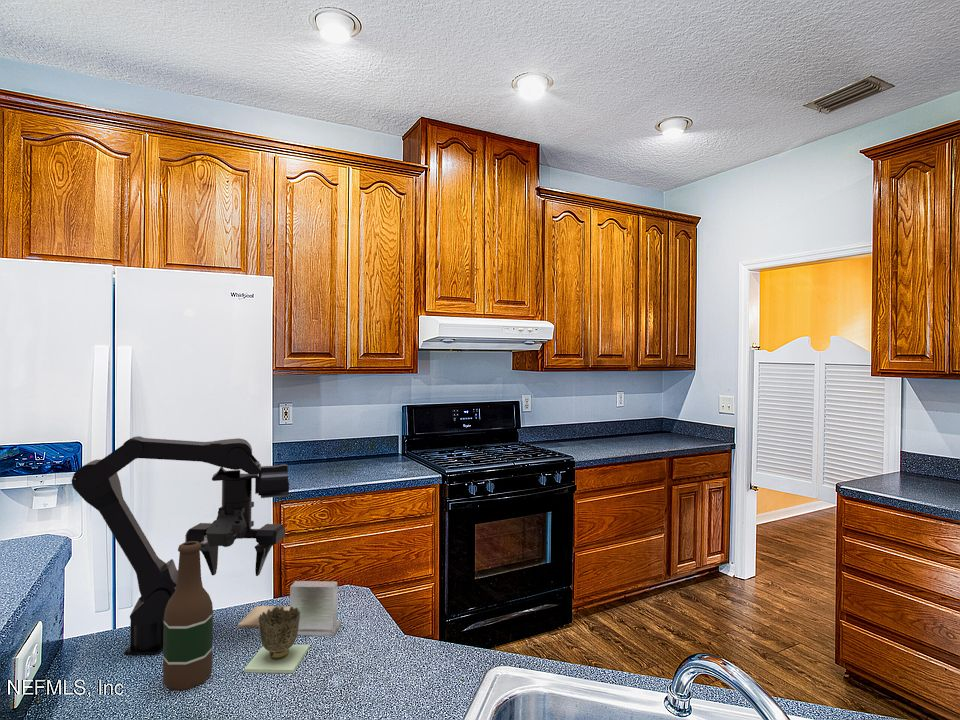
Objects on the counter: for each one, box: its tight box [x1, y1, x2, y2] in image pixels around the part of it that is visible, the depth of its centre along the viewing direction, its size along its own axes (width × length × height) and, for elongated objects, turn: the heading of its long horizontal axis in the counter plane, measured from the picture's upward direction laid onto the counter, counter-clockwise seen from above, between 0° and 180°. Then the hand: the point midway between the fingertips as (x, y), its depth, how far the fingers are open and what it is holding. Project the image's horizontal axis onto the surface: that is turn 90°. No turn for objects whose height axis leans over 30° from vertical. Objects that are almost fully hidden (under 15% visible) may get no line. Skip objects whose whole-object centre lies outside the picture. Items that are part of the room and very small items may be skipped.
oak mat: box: [237, 605, 290, 628], centre depth 121 cm, size 9×9×1 cm
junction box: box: [289, 580, 342, 637], centre depth 116 cm, size 10×5×10 cm, turn 89°
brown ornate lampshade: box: [258, 606, 300, 660], centre depth 104 cm, size 8×7×8 cm
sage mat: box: [243, 644, 311, 674], centre depth 104 cm, size 9×9×1 cm
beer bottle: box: [162, 541, 214, 691], centre depth 98 cm, size 8×8×24 cm
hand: (235, 575), depth 114 cm, fingers open, 9 cm apart
